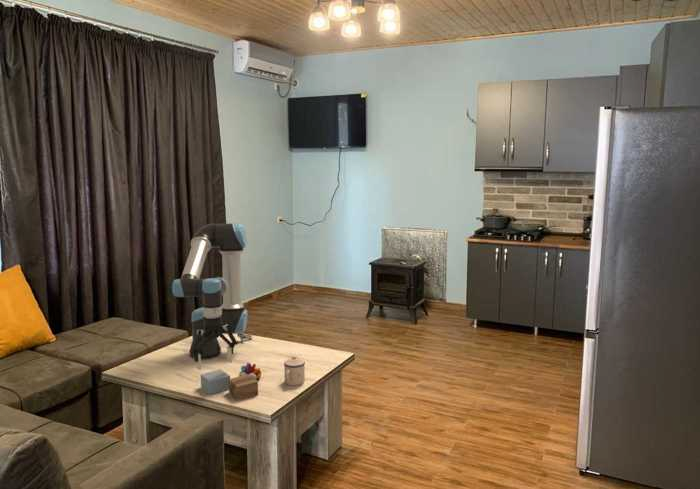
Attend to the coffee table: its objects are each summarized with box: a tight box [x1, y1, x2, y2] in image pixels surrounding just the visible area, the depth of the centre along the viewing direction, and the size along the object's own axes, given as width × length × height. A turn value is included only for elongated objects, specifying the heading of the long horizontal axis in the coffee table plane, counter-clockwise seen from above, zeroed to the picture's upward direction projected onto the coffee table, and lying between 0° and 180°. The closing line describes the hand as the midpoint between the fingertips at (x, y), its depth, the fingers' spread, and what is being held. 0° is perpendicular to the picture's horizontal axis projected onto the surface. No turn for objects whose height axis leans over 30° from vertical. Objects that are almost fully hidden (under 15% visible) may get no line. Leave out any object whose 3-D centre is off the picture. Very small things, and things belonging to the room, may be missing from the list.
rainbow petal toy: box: [238, 362, 262, 381], centre depth 237 cm, size 8×10×7 cm
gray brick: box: [200, 369, 231, 395], centre depth 228 cm, size 9×9×6 cm
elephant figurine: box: [236, 332, 253, 345], centre depth 287 cm, size 10×6×9 cm
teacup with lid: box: [283, 355, 306, 386], centre depth 233 cm, size 12×9×12 cm
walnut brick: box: [228, 374, 259, 401], centre depth 222 cm, size 9×9×6 cm
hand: (214, 365), depth 226 cm, fingers open, 13 cm apart
